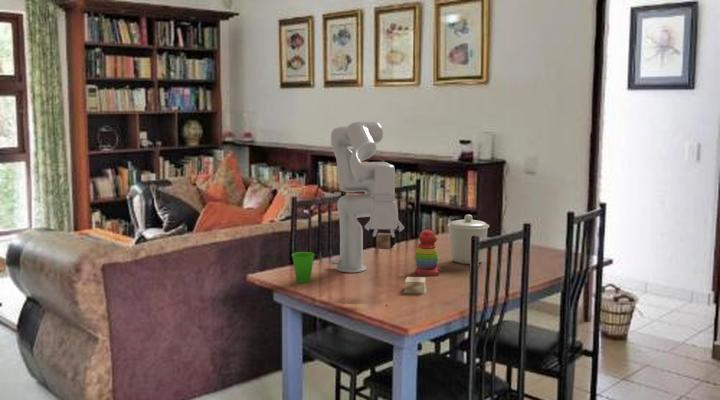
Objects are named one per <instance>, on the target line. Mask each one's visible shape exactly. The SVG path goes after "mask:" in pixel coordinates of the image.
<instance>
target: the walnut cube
mask: <svg viewBox="0 0 720 400" xmlns="http://www.w3.org/2000/svg"><path fill="white" fill-rule="evenodd" d="M390 238H391V232H388V233H387V232H377V235H376V247H375V248H376V250H391V249H392V248H390Z"/></svg>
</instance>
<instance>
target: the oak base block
mask: <svg viewBox="0 0 720 400" xmlns="http://www.w3.org/2000/svg"><path fill="white" fill-rule="evenodd" d="M426 279H427V278H426V277H425V276H424V277H421V276H420V277H419V276H407V277H406V278H405V281H404V290H405V292H411V293H410V294H423V293H424V292H425V288H427V287H426V284H427V283H426V282H427V280H426Z"/></svg>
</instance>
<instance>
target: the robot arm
mask: <svg viewBox="0 0 720 400" xmlns="http://www.w3.org/2000/svg"><path fill="white" fill-rule="evenodd" d="M383 137H384V129H383V127H382V125H381V123H379V122H377V121H354V122H351V123H350V124H349V125H348V126H338V127H335V128H333V130H332V131H331V134H330V144H331V147H332V149H331V150H332V152H333V154H334V157H335V159H336V168H337V177H338V185H339V188H340V190H341V191H342V192H345V193H347V192H348V193H352V192H353V193H355V192H356V193H357V192H358V193H359V192H363V194H346V195H342V196H341V197H340V198H339V199H338V200H337V212H338V219H339V258H337V259H335V258H330V259H329V263H330V264H331V265H337V266H336V270H337V271H338V272H341V273H342V272H343V273H361V272H364V271H366V270H367V266H366V265H365V264H364V257H363V256H364V255H363V254H364V253H363V252H364V251H363V248H364V246H363V244H364V242H363V240H364V239H363V238H364V237H363V235H364V234H363V232H364V230H363V228H364V229H366V230H367V231H368V233H370V234H371V236H372V237H373V245H374V246H375V247H374V248H376V235H377V234H378V233H379V231H380V230H382V231H383V230H385V231H386V230H387V231H389V233H391V238H390V248H391V249H393V248H394V246H396V245H395V244H396V236H397V235H398V234H400V232H402V231H403V230H405V226H404V225H403V224H402V222H401V221H400V220H399V210H398V204H397V201H396V200H395V194H396V193H395V186H396V185H395V183H396V180H395V179H396V177H395V176H396V169H395V165H393V164H390V163H388V162H386V161H371V162H370V161H369V162H364V161H365V160H368V159H370V158H371V157H372V156H374V155H375V153H376V151H377V144H379V143H380V142H382V140H383ZM350 147H351V148H353V151H352V149H350ZM358 218H369V220H368V221H367V223H366V224H365V225H364V227H363V226H362V224H361V222H360V221H359V220H358Z"/></svg>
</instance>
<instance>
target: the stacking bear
mask: <svg viewBox="0 0 720 400" xmlns="http://www.w3.org/2000/svg"><path fill="white" fill-rule="evenodd" d="M418 239H419V242H420V243H419V244H418V246H417V247H416V250H415V251H416V252H415V258H414V259H415V264H416V269H415V273H416V274H418V275H423V276H432V277H434V276H439V275H440V272H441V267H440V266H438V262H439V251H438V249H437V245H436V242H437V240H438V236H437V235H435V233H434V231H432V230H431V229H427V228H426V229H425V230H422V231H421V232H420V233H419V238H418Z"/></svg>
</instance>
